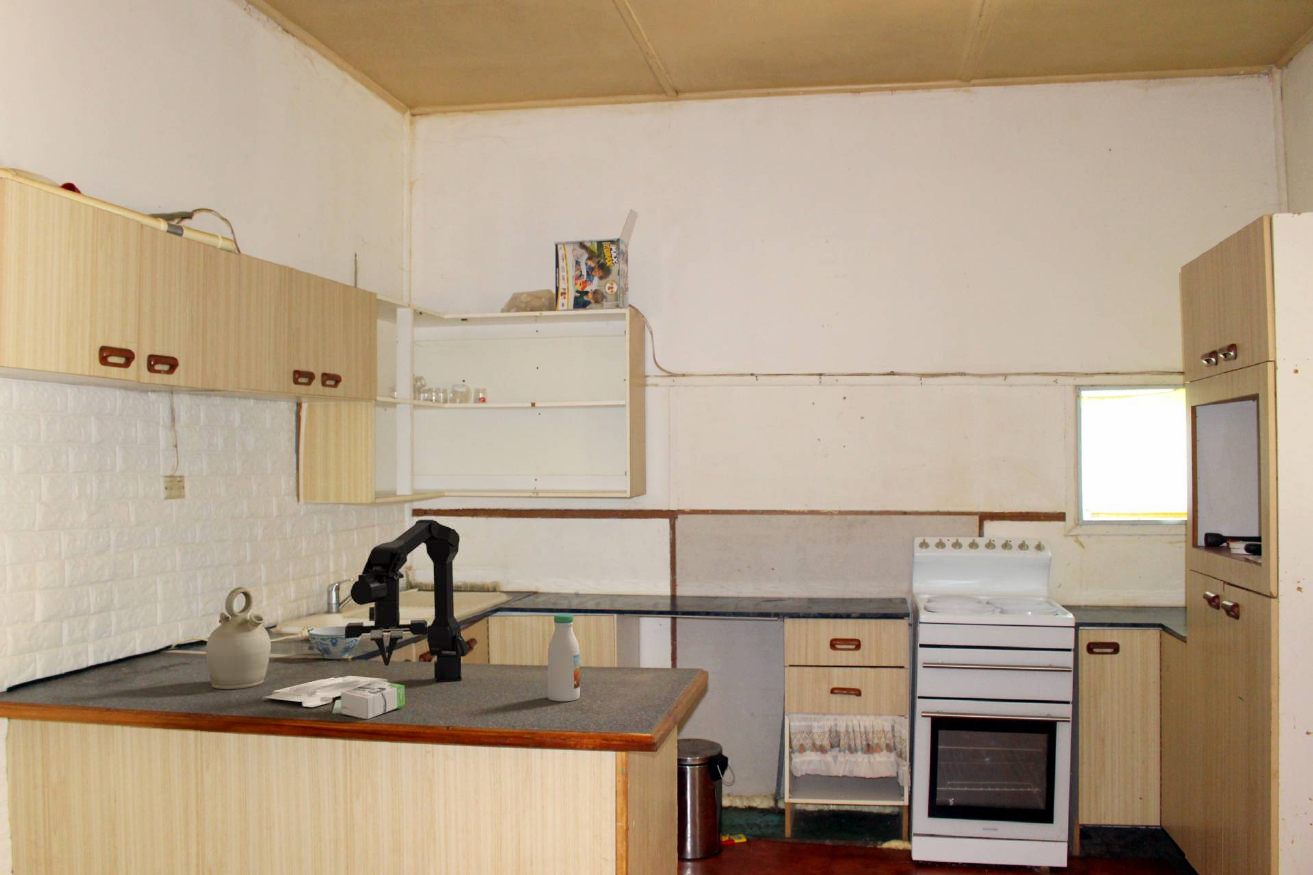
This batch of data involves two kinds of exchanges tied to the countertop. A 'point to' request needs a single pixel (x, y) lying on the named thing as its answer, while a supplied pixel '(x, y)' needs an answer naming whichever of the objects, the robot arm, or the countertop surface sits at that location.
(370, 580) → the robot arm
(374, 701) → the ink box
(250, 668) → the jug
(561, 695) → the milk bottle
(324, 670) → the countertop surface
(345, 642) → the chinaware
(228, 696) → the countertop surface
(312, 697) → the tray
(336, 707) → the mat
